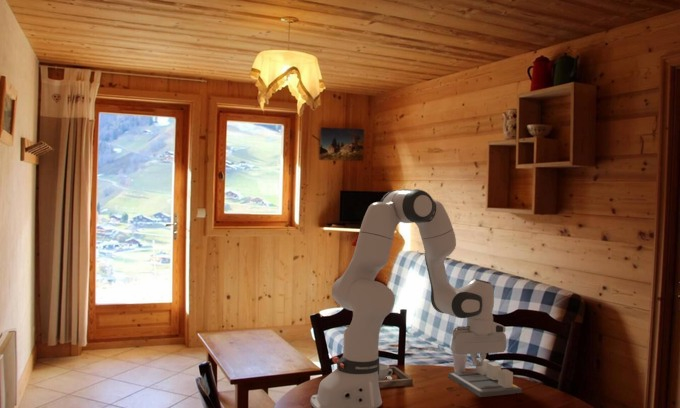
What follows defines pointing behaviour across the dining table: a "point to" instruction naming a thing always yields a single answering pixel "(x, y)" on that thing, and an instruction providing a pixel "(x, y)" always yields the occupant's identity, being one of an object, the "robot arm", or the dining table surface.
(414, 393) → the dining table surface
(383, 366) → the teacup
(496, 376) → the white rectangular block
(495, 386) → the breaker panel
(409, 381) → the square wooden tray
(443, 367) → the dining table surface
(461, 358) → the smoothie
